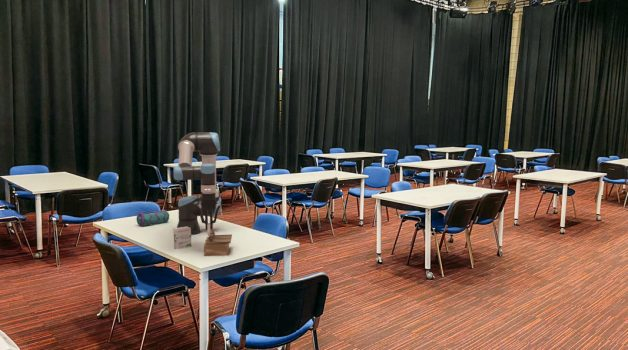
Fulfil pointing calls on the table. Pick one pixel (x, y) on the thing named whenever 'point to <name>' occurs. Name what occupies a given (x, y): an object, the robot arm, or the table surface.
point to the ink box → (182, 237)
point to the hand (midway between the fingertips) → (209, 235)
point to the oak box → (215, 249)
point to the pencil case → (152, 218)
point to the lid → (218, 238)
